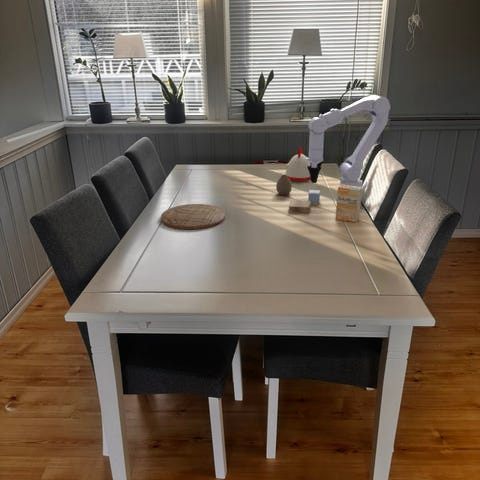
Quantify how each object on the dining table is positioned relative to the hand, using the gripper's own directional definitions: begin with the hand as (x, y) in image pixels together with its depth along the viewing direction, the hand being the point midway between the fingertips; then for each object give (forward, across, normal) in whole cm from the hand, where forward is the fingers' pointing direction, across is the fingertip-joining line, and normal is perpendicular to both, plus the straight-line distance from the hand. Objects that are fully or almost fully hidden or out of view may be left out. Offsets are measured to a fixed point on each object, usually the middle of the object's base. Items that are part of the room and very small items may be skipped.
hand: (314, 180), depth 189 cm
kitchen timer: (+10, -37, -10) cm, 39 cm away
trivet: (+10, +28, -45) cm, 54 cm away
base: (+10, +11, -5) cm, 16 cm away
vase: (+10, -8, -14) cm, 19 cm away
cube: (+10, 0, 0) cm, 10 cm away
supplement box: (+10, +19, +14) cm, 26 cm away
